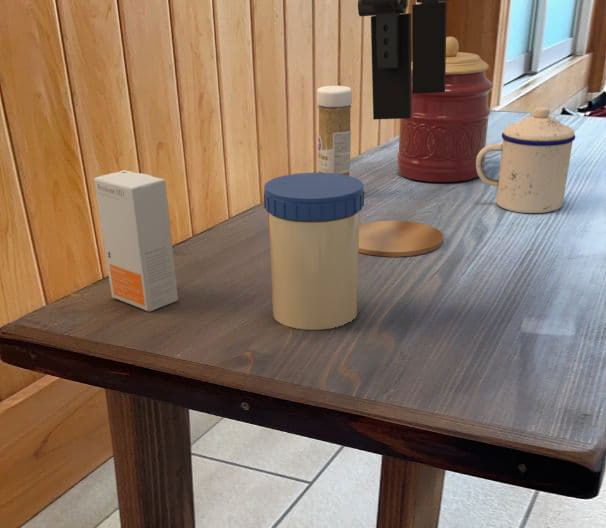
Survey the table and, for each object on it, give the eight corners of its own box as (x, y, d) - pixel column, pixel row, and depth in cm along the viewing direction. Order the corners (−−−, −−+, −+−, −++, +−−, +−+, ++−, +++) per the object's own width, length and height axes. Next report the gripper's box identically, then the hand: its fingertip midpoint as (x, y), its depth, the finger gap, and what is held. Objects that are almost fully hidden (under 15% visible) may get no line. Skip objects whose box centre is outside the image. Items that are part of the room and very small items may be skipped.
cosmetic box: (110, 299, 88) (91, 177, 81) (142, 287, 91) (126, 168, 84) (148, 313, 85) (131, 187, 78) (180, 301, 87) (167, 178, 80)
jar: (364, 300, 87) (367, 180, 80) (348, 333, 80) (350, 205, 73) (284, 295, 88) (281, 177, 81) (262, 326, 82) (256, 201, 75)
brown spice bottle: (312, 194, 119) (310, 86, 111) (341, 189, 121) (341, 83, 113) (327, 202, 116) (326, 91, 108) (356, 197, 117) (358, 88, 109)
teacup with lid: (561, 196, 116) (576, 101, 109) (567, 215, 109) (583, 115, 102) (472, 194, 118) (481, 100, 111) (471, 213, 110) (481, 114, 104)
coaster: (448, 228, 106) (448, 223, 105) (437, 259, 96) (437, 254, 96) (353, 223, 108) (353, 218, 108) (333, 253, 99) (333, 248, 98)
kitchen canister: (477, 161, 132) (490, 30, 122) (490, 183, 122) (505, 41, 111) (393, 163, 133) (399, 32, 122) (399, 184, 122) (406, 43, 112)
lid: (371, 195, 81) (372, 174, 80) (353, 223, 74) (353, 201, 73) (279, 191, 83) (278, 170, 81) (252, 218, 76) (251, 196, 74)
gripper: (398, -218, 67) (400, 85, 79) (297, -282, 48) (321, 133, 59) (494, -233, 65) (482, 81, 77) (430, -306, 45) (427, 130, 57)
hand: (411, 105), depth 68 cm, fingers open, 13 cm apart
